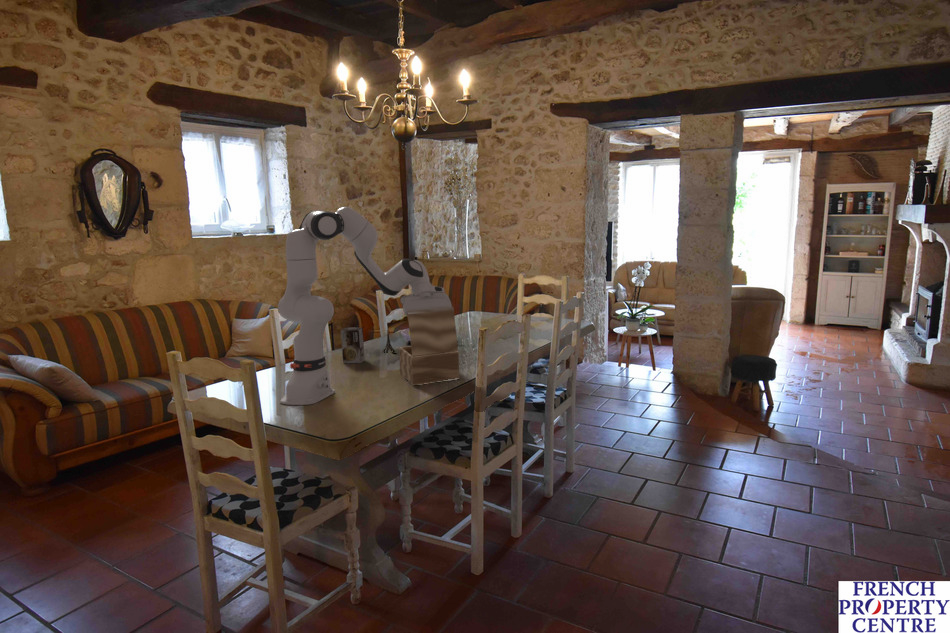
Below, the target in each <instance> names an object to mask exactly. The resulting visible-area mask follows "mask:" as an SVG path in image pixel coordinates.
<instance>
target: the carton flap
mask: <svg viewBox="0 0 950 633" xmlns="http://www.w3.org/2000/svg"><path fill="white" fill-rule="evenodd" d="M407 320H408V326H409V327H408V329H409V330H410V340H411V341H410V346H411V349H412V356H418V355H426V354H435V353H443V352H451V351H458V352H459V345H458V335H457V329H456V326H457V325H456V317H455V308H454V306H452V307H445V308H434V309H423V310H412V311H408V316H407Z"/></svg>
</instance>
